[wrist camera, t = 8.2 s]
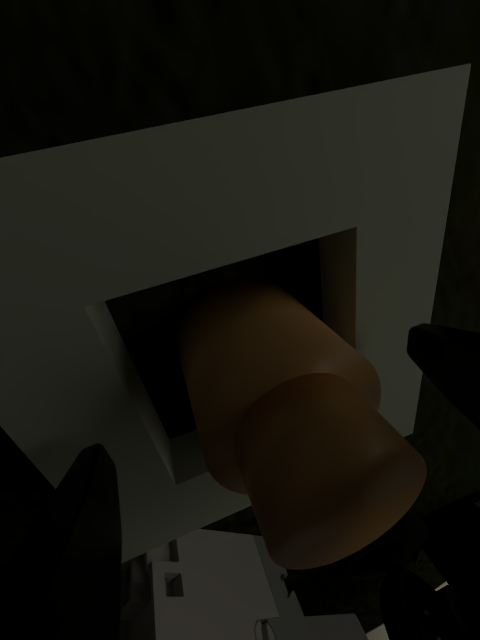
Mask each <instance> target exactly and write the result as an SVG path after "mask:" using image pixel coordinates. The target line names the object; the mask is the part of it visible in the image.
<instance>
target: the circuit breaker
mask: <svg viewBox="0 0 480 640" xmlns="http://www.w3.org/2000/svg"><path fill="white" fill-rule="evenodd" d="M129 565H130V566H129ZM287 575H288V573H287V571H286V568H283V567H281V566H278V565H277V564H276V563H274V562H273V561H272V559H271V558H270V556H269V553H268V551H267V548H266V545H265V542H264V539H263V536H257V535H248V534H239V533H230V532H221V531H213V530H204V529H197V530H195V531H193V532H190V533H188V534H186V535H184V536H181V537H179V538H177V539H175V540H172V541H170V542H168V543H166V544H164V545H161V546H159V547H157V548H155V549H152V550H150V551H148V552H146V553H143V554H141V555H139V556H137V557H134V558H132V559H130V560H128V561H125V562H123V563H122V569H121V615H120V640H368V639H367V637H366V634H365V632H364V630H363V628H362V626H361V624H360V622H359V620H358V618H357V616H356V615H355V614H341V615H324V616H307V617H304V614H303V612H302V609H301V607H300V604H299V602H298V599H297V597H296V594H295V592H294V590H293V591H292V592H291V593H290V594H288V591H287V588H286V586H285V583H284V579H285V578H286V577H287Z"/></svg>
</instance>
